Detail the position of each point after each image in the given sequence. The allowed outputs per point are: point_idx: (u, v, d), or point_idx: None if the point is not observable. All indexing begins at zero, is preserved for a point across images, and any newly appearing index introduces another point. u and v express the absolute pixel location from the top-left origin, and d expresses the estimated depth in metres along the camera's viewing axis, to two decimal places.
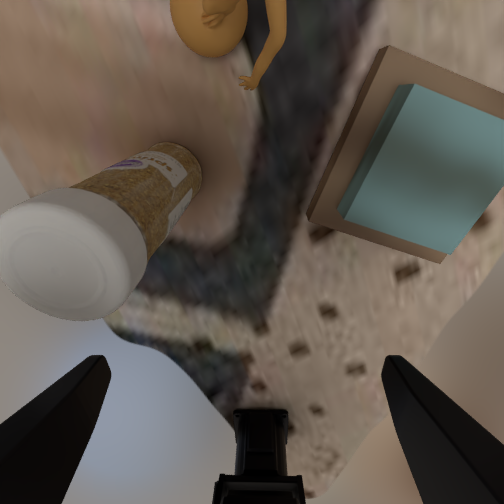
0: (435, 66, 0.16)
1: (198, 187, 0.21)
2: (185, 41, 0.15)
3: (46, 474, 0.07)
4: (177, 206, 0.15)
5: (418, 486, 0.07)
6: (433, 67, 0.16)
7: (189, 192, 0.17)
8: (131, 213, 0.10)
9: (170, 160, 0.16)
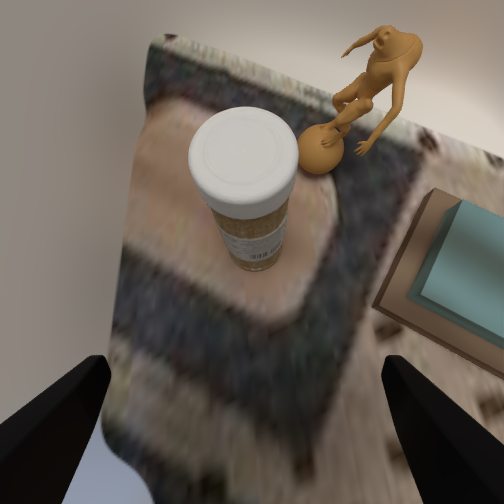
0: None
1: (277, 257, 0.23)
2: (302, 156, 0.23)
3: (46, 474, 0.07)
4: None
5: (418, 486, 0.07)
6: None
7: None
8: None
9: None
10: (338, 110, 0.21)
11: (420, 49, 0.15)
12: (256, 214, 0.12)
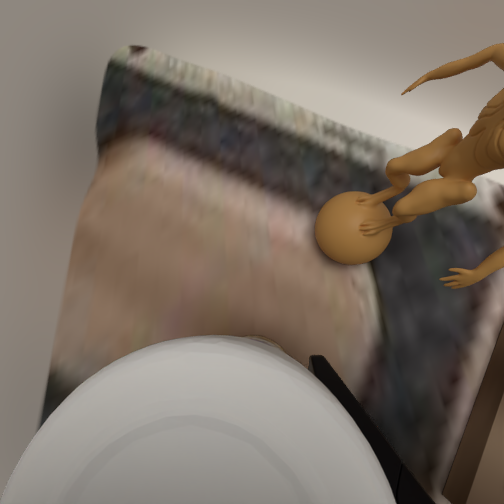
0: None
1: None
2: (328, 243, 0.15)
3: None
4: None
5: None
6: None
7: None
8: None
9: None
10: (394, 182, 0.12)
11: None
12: None
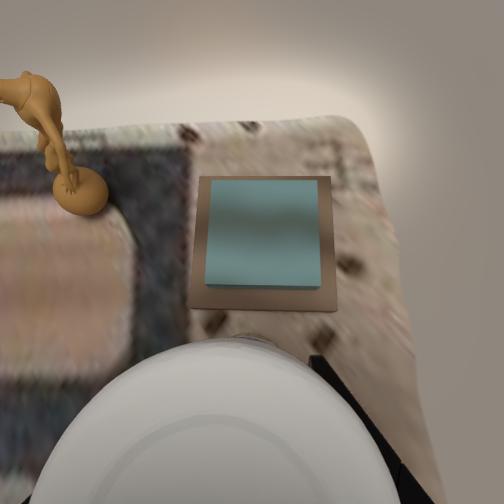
0: (234, 177, 0.24)
1: None
2: (63, 206, 0.23)
3: None
4: None
5: None
6: (233, 177, 0.24)
7: None
8: None
9: None
10: None
11: (43, 86, 0.15)
12: None
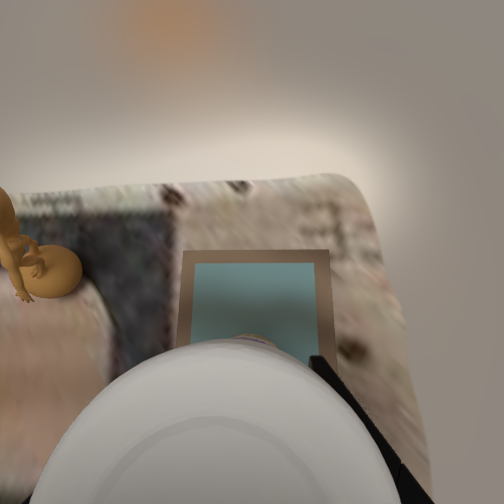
0: (221, 251, 0.22)
1: None
2: (29, 292, 0.20)
3: None
4: None
5: None
6: (220, 252, 0.22)
7: None
8: None
9: None
10: None
11: None
12: None
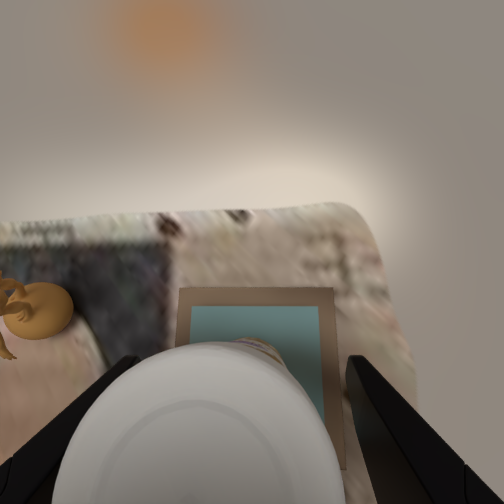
0: (220, 288, 0.21)
1: None
2: None
3: None
4: None
5: (373, 485, 0.07)
6: (219, 289, 0.20)
7: None
8: None
9: (280, 358, 0.13)
10: None
11: None
12: None
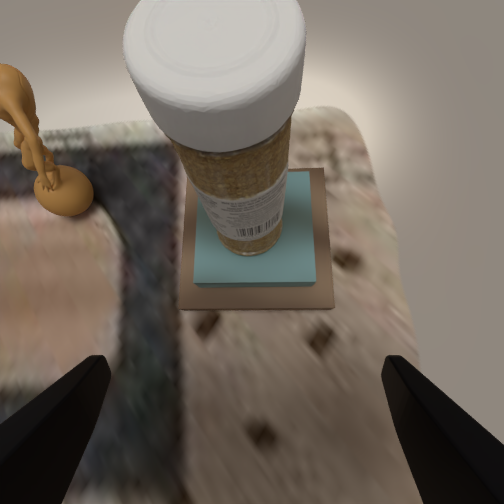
0: None
1: (275, 239, 0.18)
2: (45, 207, 0.22)
3: (46, 474, 0.07)
4: None
5: (418, 486, 0.07)
6: None
7: None
8: None
9: None
10: None
11: (12, 76, 0.14)
12: (234, 140, 0.07)
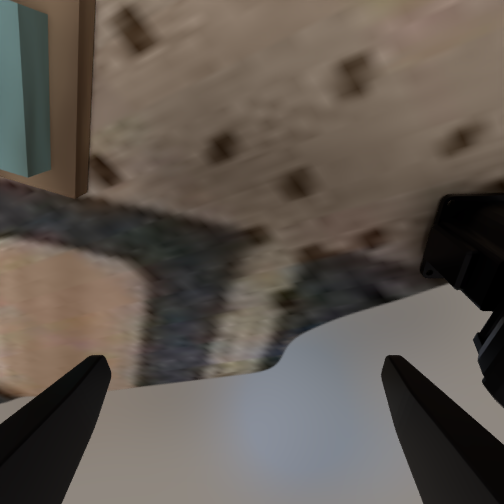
0: None
1: None
2: None
3: (46, 474, 0.07)
4: None
5: (418, 486, 0.07)
6: None
7: None
8: None
9: None
10: None
11: None
12: None
